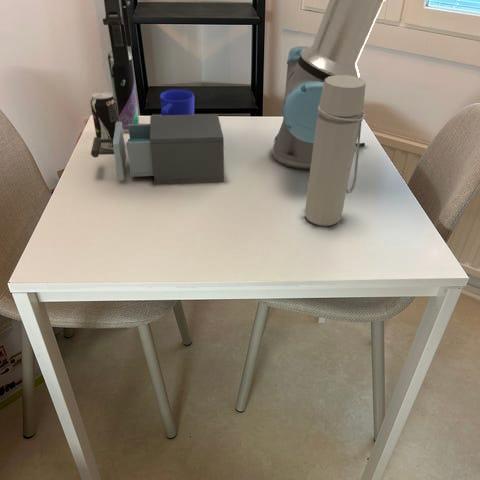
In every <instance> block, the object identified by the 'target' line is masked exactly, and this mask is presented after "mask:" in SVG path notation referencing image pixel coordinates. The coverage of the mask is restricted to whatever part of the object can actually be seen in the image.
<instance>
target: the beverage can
mask: <svg viewBox="0 0 480 480" xmlns="http://www.w3.org/2000/svg"><path fill="white" fill-rule="evenodd" d="M90 110H91V115H92V120H93V125H94V131H95V137H100V138H101V139H114V132H115V126H116V122H119V117H118V110H117V104H116V100H115V99H114V95H113V92H110V91H106V90H105V91H104V90H102V91H96V92H92V94H91V99H90ZM100 149H103V150H105V151H112V150H114V149H113V143H102V142H101V147H100Z"/></svg>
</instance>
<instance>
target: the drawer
mask: <svg viewBox="0 0 480 480" xmlns="http://www.w3.org/2000/svg"><path fill="white" fill-rule="evenodd" d="M128 129H129V132H128V135H129V139H147V138H148V139H149V141H128V140H127V141H125V135H124V132H123V128H122V122H116V126H115V132H114V139H101V138H100V137H96V136H95V137H94V139H93V141H92V146H91V151H90V155H91V157H93V158H98V157H99V156H100V155H101V156H102V155H113V156H114V160H115V167H116V173H117V179H118V181H125V179H126V177H125V176H126V167H127V159H128V165H129V172H130V177H131V178H133V177H154V173H153V163H152V154H151V145H150V123H139V124H128ZM101 142H102V143H113V150H101Z"/></svg>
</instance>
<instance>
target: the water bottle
mask: <svg viewBox="0 0 480 480" xmlns="http://www.w3.org/2000/svg"><path fill="white" fill-rule="evenodd" d="M366 84H367V83H366V81H365V80H364V79H363V78H360V77H359V78H358V77H353V76H348V75H334V76H329V77H327V78H326V79H325V81H324V85H323V90H322V94H321V99H320V103H319V106H318V112H319V113H318V114H317V122H316V130H315V137H314V145H313V153H312V160H311V168H310V169H309V176H308V184H307V192H306V200H305V206H304V207H305V208H304V215H305V218H306V219H307V220H308V221H309V222H310V223H311V224H314V225H317V226H326V227H329V226H333V225H336V224H338V222H340V220H341V218H342V216H343V211H344V206H345V200H346V195H347V194H348V195H349V194H353V191H354V190H355V187H356V182H357V177H358V176H357V175H358V167H359V166H358V165H359V157H360V156H359V155H360V147H359V144H360V143H361V132H362V122H363V120H364V119H365V118H366V112H365V111H364V106H365V94H366V86H367V85H366ZM356 143H357V147H356ZM355 152H356V153H355ZM354 156H355V163H354V172H353V173H354V174H353V180H352V183H351V187H350V189H349V190H348V185H349V180H350V175H351V170H352V166H353V161H354Z"/></svg>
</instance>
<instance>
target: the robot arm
mask: <svg viewBox="0 0 480 480" xmlns="http://www.w3.org/2000/svg"><path fill="white" fill-rule="evenodd" d="M384 1H385V0H328V3H327V6H326V9H325V11H324V14H323V16H322V19H321V21H320V24H319V27H318V30H317V32H316V35H315V38H314V40H313V44H312V45H305V46H304V45H303V46H302V45H301V46H295V47H292V48H290V50H289V52H288V58H287V60H286V65H287V67H286V79H285V90H284V100H283V102H282V103H283V105H282V110H281V111H282V117H283V119H282V123H281V125H280V128H279V130H278V133H277V134H276V136H275V137H274V140H273V142H272V143H273V146H272V157H273V159H275V161H277V162H278V163H279V164H282V165H284V166H286V167H289V168H293V169H297V170H310V168H311V160H312V153H313V145H314V137H315V130H316V122H317V114H318V113H319V112H318V106H319V103H320V99H321V94H322V90H323V85H324V81H325V79H326V78H327V77H329V76H334V75H348V76H353V77H358V78H360V73H359V69H358V66H357V63H358V61H359V58H360V56H361V54H362V51H363V49H364V47H365V44H366V42H367V40H368V38H369V35H370V33H371V31H372V28H373V26H374V24H375V22H376V19H377V18H378V16H379V13H380V10H381V8H382V6H383V3H384ZM103 4H104V13H105V17H104V18H102V23H103V26H107V27H108V29H107V30H108V34H109V40H110V47H111V50H112V54H113V60H114V67H118V66H130V62H129V54H128V51H129V48H128V47H133V41H132V35H131V34H132V33H131V26H130V18H129V11H128V7H131V0H103ZM365 146H366V143H365V142H360V144H359V148H363V147H365ZM356 148H357V143H356Z"/></svg>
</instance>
